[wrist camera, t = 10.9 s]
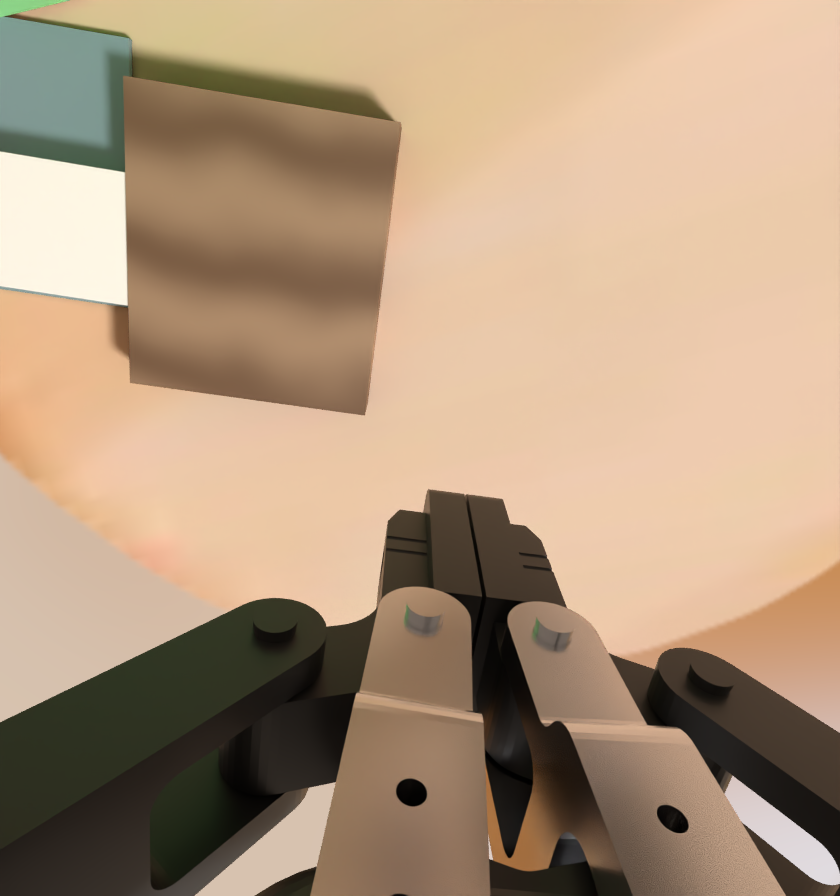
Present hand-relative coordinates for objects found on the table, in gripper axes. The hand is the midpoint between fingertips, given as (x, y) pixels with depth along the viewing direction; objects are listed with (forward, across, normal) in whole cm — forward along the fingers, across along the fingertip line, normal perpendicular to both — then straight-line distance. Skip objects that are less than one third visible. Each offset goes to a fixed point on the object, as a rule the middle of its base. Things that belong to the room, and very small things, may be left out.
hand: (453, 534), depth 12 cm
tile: (+27, +22, -2) cm, 35 cm away
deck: (+27, +10, -2) cm, 29 cm away
